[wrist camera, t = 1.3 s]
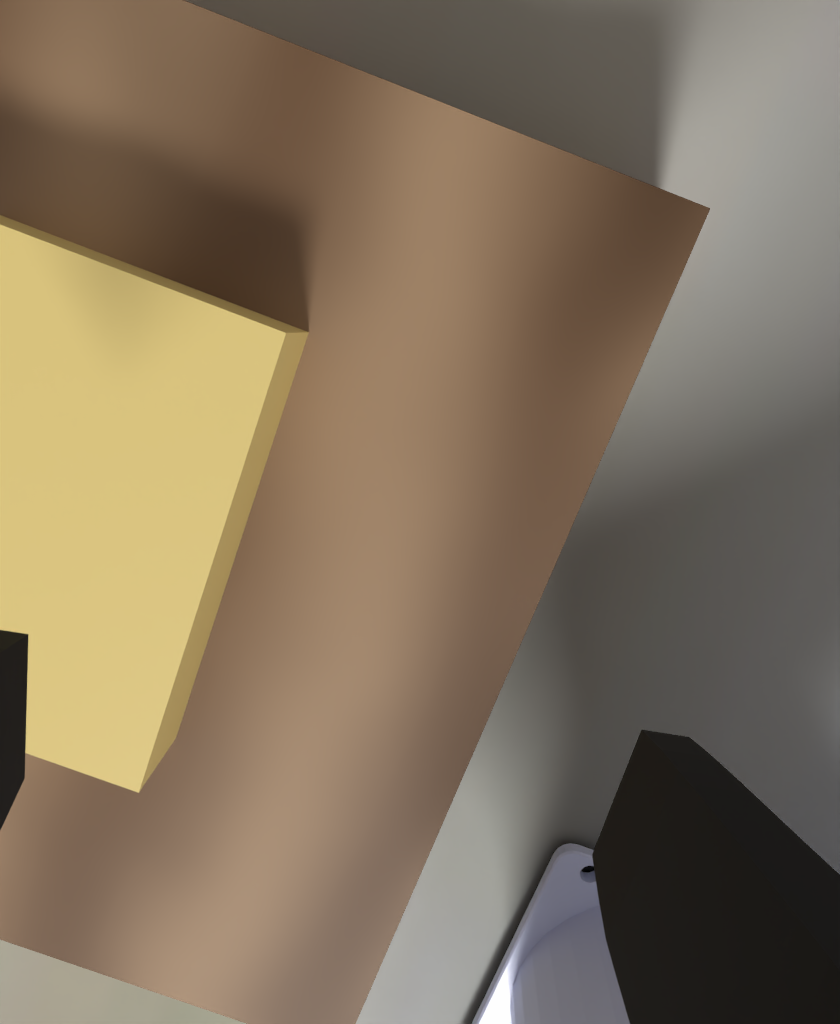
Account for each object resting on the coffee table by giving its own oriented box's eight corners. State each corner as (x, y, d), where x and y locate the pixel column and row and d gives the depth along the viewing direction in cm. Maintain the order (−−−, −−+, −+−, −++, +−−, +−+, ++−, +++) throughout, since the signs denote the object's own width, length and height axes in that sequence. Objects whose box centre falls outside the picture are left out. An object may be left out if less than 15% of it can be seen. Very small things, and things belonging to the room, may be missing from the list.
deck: (653, 234, 18) (710, 208, 14) (361, 928, 22) (341, 1056, 18) (63, 3, 17) (-54, -94, 13) (-111, 763, 22) (-235, 859, 18)
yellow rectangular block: (309, 332, 14) (286, 332, 13) (175, 738, 17) (138, 793, 15) (0, 215, 14) (-72, 197, 12) (-95, 641, 16) (-170, 684, 14)
